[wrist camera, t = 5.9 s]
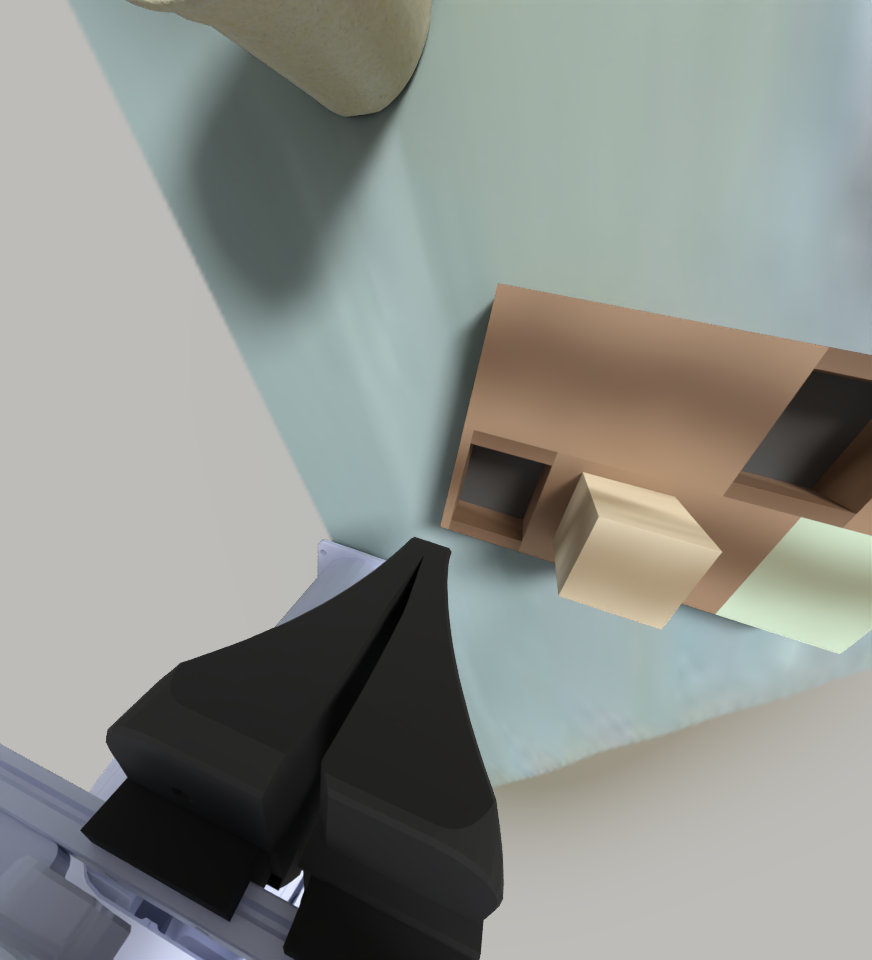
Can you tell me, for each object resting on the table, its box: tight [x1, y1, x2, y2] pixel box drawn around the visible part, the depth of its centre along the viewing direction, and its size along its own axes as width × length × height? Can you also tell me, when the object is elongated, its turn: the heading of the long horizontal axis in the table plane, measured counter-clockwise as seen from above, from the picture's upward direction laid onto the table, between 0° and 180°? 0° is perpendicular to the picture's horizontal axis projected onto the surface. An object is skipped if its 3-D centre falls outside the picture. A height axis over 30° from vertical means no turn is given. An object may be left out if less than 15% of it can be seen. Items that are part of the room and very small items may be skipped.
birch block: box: [553, 472, 722, 629], centre depth 14 cm, size 4×4×4 cm
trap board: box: [440, 283, 872, 654], centre depth 15 cm, size 12×20×2 cm, turn 79°
